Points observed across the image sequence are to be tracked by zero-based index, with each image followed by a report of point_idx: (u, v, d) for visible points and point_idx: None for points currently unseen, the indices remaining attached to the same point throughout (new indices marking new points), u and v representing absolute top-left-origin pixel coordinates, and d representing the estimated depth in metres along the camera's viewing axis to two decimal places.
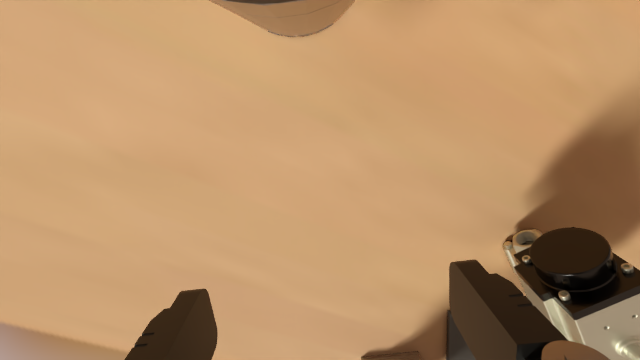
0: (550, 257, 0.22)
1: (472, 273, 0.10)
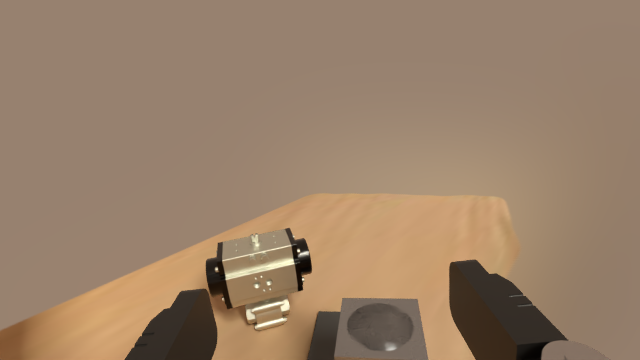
0: None
1: (472, 273, 0.10)
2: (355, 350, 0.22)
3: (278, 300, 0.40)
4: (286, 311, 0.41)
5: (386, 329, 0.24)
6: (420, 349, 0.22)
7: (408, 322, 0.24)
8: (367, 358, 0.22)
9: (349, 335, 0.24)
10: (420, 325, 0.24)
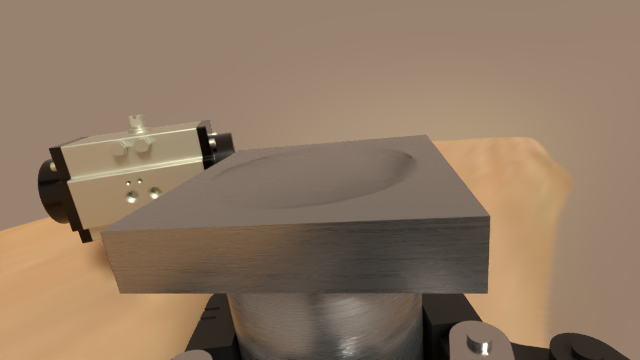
0: None
1: None
2: (193, 213, 0.06)
3: None
4: None
5: (329, 172, 0.07)
6: (447, 195, 0.05)
7: (401, 158, 0.08)
8: (224, 230, 0.05)
9: (203, 190, 0.07)
10: (439, 158, 0.07)
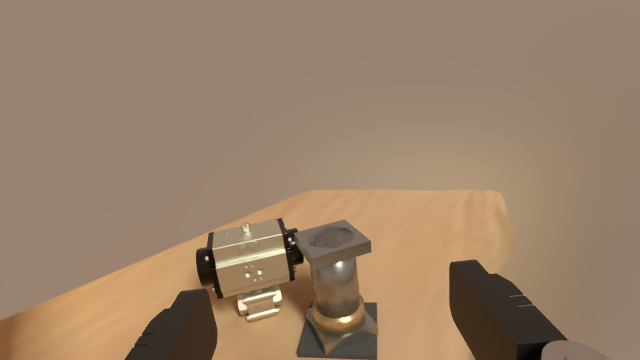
0: None
1: (472, 273, 0.10)
2: (324, 251, 0.31)
3: (270, 290, 0.40)
4: (278, 302, 0.41)
5: (336, 236, 0.34)
6: (363, 238, 0.33)
7: (347, 230, 0.35)
8: (334, 252, 0.31)
9: (314, 246, 0.32)
10: (355, 229, 0.35)
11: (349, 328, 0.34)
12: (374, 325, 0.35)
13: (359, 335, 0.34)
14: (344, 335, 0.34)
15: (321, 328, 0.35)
